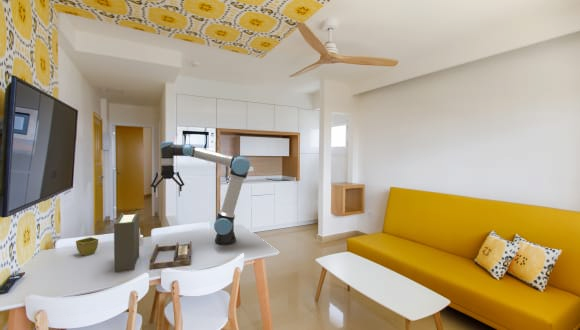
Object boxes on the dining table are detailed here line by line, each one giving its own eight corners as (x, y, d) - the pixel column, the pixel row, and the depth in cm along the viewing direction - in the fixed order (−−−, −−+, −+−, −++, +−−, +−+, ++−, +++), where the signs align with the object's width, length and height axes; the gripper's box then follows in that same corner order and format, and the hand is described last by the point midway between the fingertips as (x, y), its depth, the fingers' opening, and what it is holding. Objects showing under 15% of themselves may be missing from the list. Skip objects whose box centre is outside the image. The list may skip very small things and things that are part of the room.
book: (134, 271, 148) (133, 221, 146) (114, 274, 144) (113, 222, 142) (139, 256, 167) (138, 212, 165) (121, 258, 164) (121, 212, 162)
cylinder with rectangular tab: (145, 245, 186) (145, 228, 186) (130, 248, 180) (130, 230, 179) (140, 242, 192) (140, 225, 192) (126, 245, 186) (126, 228, 185)
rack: (191, 249, 180) (191, 240, 180) (190, 266, 154) (190, 256, 153) (156, 252, 173) (156, 243, 173) (149, 271, 147) (149, 260, 146)
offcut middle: (187, 251, 174) (187, 248, 174) (187, 260, 159) (187, 257, 159) (179, 252, 172) (179, 248, 172) (177, 261, 157) (178, 258, 157)
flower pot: (99, 253, 170) (99, 239, 170) (83, 257, 163) (83, 243, 162) (90, 250, 174) (90, 236, 174) (75, 255, 166) (75, 240, 166)
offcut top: (187, 248, 174) (187, 245, 174) (187, 257, 159) (187, 254, 159) (178, 248, 172) (179, 245, 172) (178, 258, 157) (178, 255, 157)
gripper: (187, 164, 185) (188, 194, 186) (147, 164, 176) (147, 196, 177) (187, 164, 178) (188, 196, 179) (145, 165, 169) (146, 198, 170)
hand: (168, 196), depth 178 cm, fingers open, 13 cm apart
